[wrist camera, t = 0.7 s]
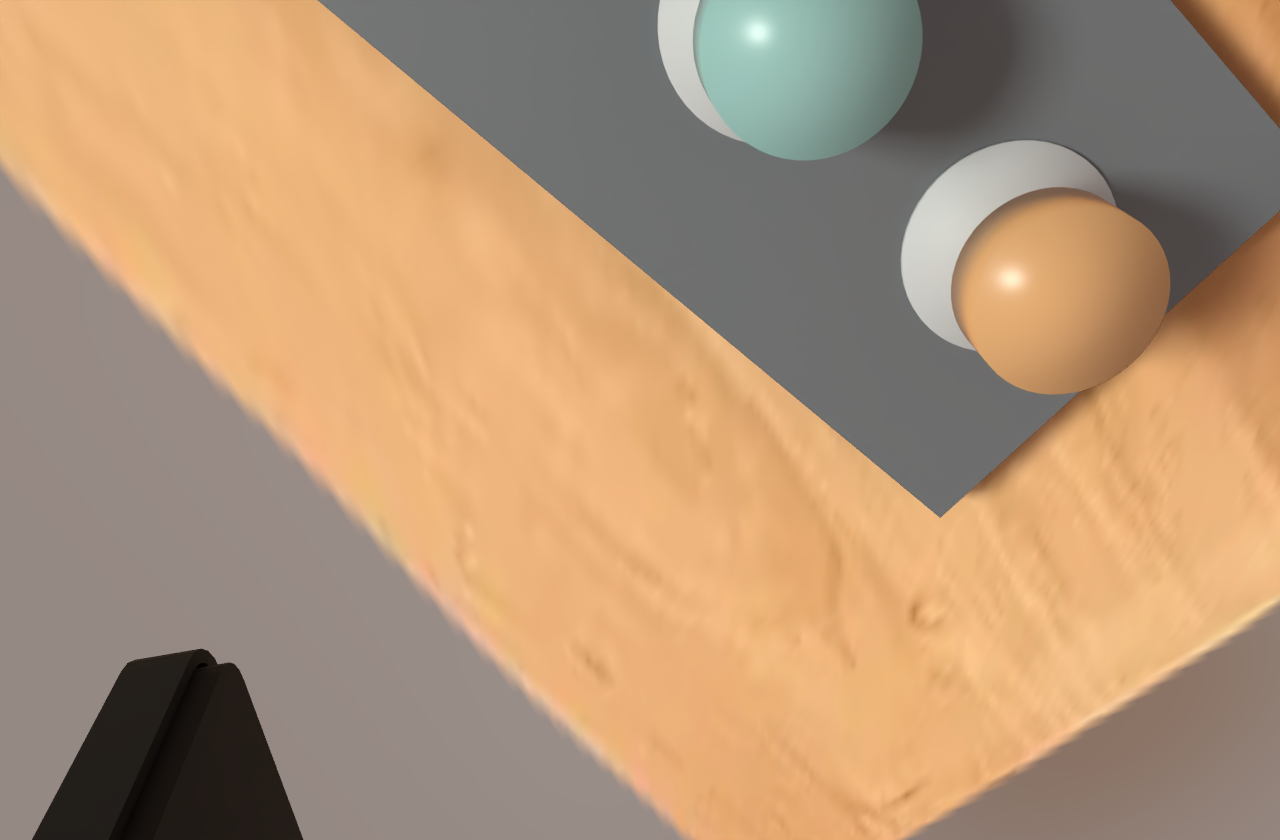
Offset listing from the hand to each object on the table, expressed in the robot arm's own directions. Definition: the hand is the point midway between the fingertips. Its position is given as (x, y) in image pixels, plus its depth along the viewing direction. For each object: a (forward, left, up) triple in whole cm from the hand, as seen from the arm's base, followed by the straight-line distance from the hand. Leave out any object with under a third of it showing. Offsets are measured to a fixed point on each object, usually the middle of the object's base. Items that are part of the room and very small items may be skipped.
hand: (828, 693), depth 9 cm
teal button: (-4, +1, -21) cm, 22 cm away
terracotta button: (-4, +10, -21) cm, 24 cm away
